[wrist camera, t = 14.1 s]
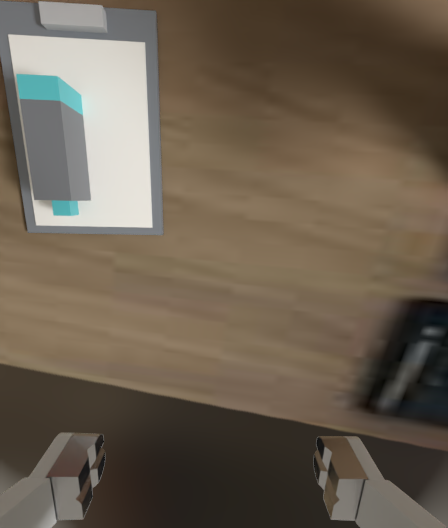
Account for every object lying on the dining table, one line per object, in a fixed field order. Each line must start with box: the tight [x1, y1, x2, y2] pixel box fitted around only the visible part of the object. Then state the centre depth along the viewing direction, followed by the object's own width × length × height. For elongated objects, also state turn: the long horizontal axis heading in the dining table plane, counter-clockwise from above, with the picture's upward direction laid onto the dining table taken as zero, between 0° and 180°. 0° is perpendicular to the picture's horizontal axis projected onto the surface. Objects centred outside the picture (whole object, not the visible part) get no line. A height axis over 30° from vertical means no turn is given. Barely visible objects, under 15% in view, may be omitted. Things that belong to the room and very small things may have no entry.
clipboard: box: [0, 1, 163, 235], centre depth 29 cm, size 16×23×2 cm
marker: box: [16, 74, 91, 216], centre depth 27 cm, size 13×4×4 cm, turn 178°
